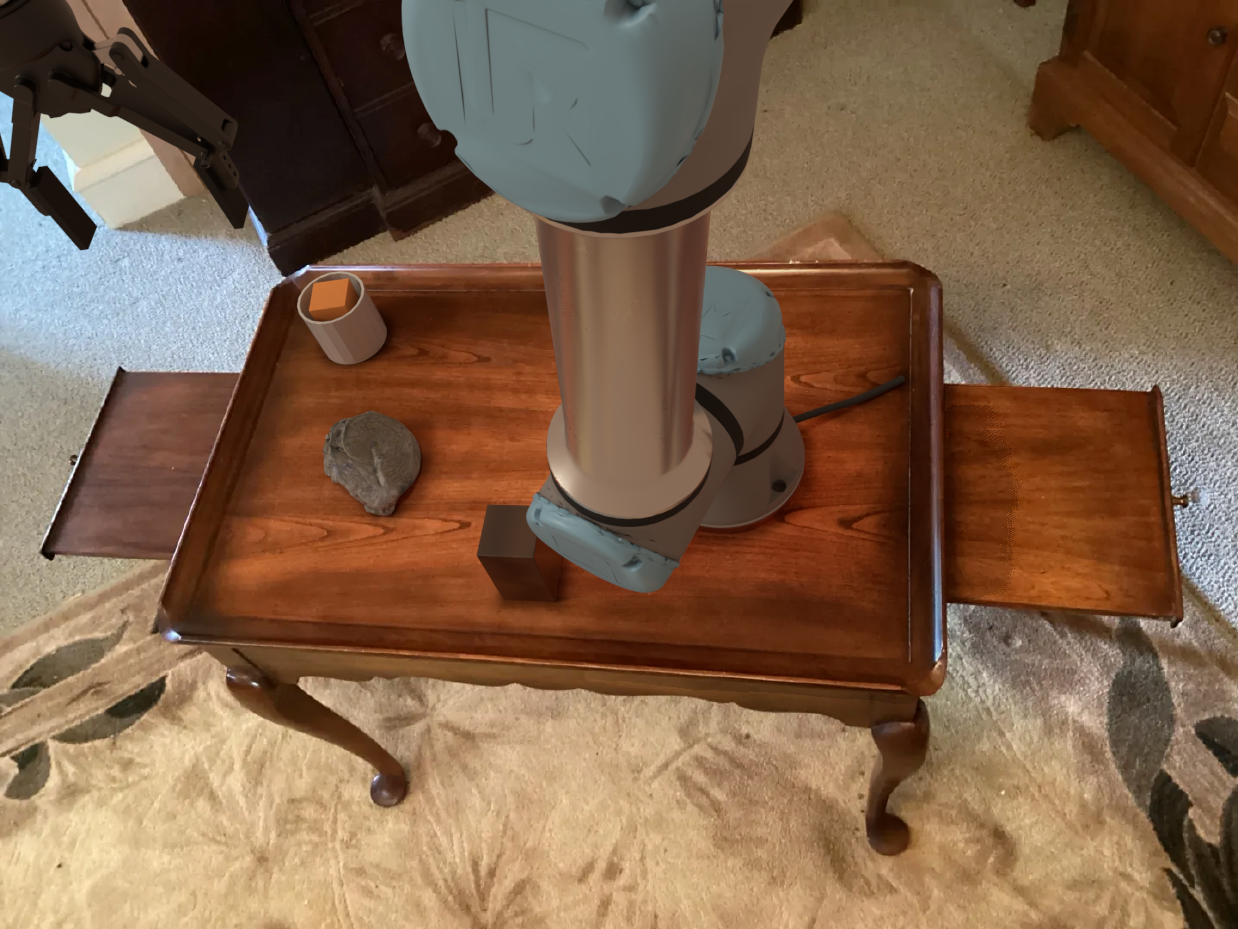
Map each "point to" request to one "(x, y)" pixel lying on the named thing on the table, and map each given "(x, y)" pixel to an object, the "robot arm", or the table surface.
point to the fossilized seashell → (372, 459)
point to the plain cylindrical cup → (346, 324)
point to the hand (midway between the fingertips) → (165, 228)
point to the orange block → (332, 299)
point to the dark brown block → (517, 556)
